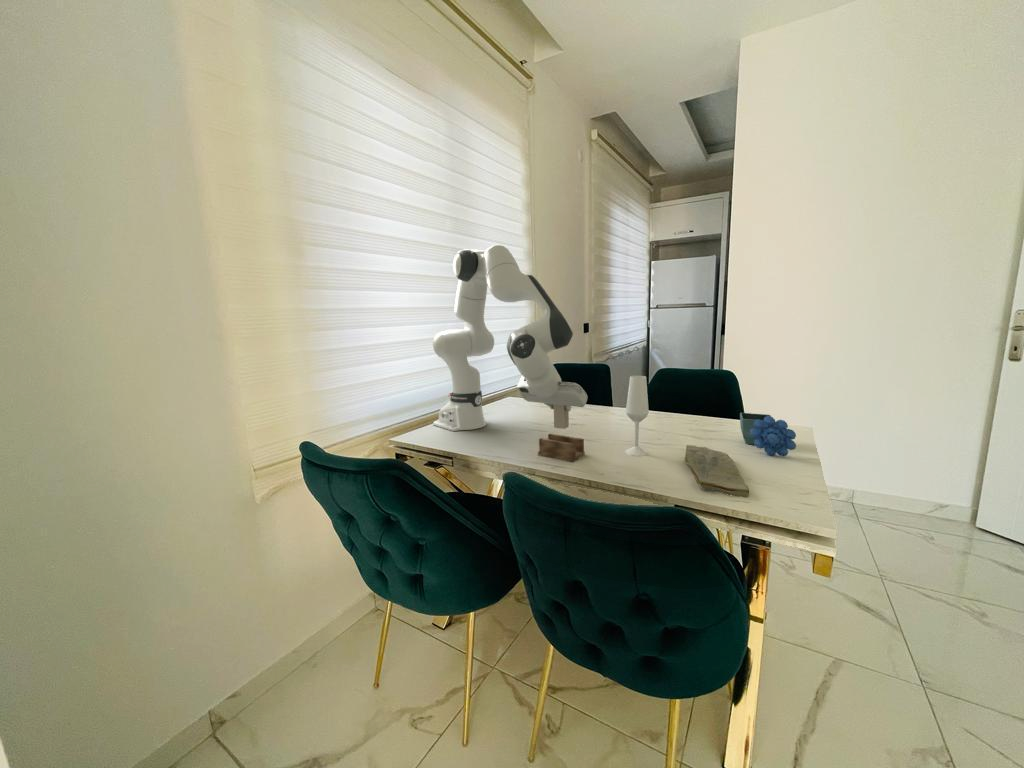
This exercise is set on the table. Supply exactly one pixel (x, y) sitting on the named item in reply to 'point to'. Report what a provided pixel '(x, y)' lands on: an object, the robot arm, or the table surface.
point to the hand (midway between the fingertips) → (561, 408)
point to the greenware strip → (560, 417)
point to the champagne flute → (637, 408)
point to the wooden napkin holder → (561, 447)
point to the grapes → (773, 436)
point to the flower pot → (749, 425)
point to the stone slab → (715, 471)
